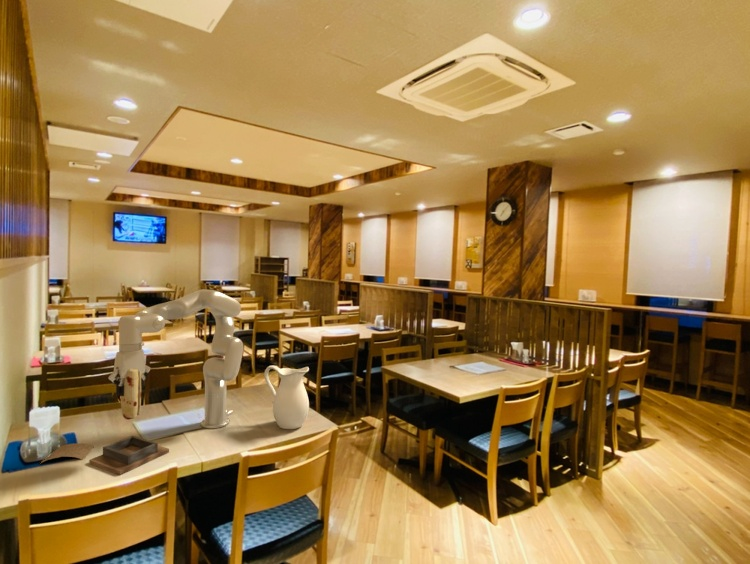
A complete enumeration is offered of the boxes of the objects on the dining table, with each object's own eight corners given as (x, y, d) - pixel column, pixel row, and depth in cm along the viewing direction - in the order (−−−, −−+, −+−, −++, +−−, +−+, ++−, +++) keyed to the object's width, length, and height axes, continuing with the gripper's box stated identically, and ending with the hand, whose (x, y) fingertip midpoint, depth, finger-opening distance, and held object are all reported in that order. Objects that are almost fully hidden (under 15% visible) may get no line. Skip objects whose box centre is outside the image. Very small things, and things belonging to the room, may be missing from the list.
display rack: (139, 442, 171) (139, 431, 171) (169, 452, 163) (169, 440, 163) (89, 463, 153) (89, 450, 152) (120, 475, 145) (120, 461, 145)
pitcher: (315, 422, 198) (316, 366, 197) (294, 435, 183) (295, 374, 182) (276, 413, 208) (277, 360, 207) (253, 424, 193) (254, 367, 192)
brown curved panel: (95, 448, 166) (95, 440, 166) (86, 460, 156) (86, 453, 156) (48, 453, 161) (47, 445, 161) (35, 467, 150) (35, 459, 150)
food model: (117, 415, 158) (118, 365, 158) (136, 411, 163) (137, 362, 162) (123, 423, 151) (123, 370, 150) (143, 419, 156) (144, 367, 155)
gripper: (145, 342, 165) (144, 385, 166) (101, 350, 150) (101, 397, 150) (157, 344, 162) (157, 388, 163) (114, 352, 146) (114, 400, 147)
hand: (130, 392), depth 157 cm, fingers closed on food model, 7 cm apart
